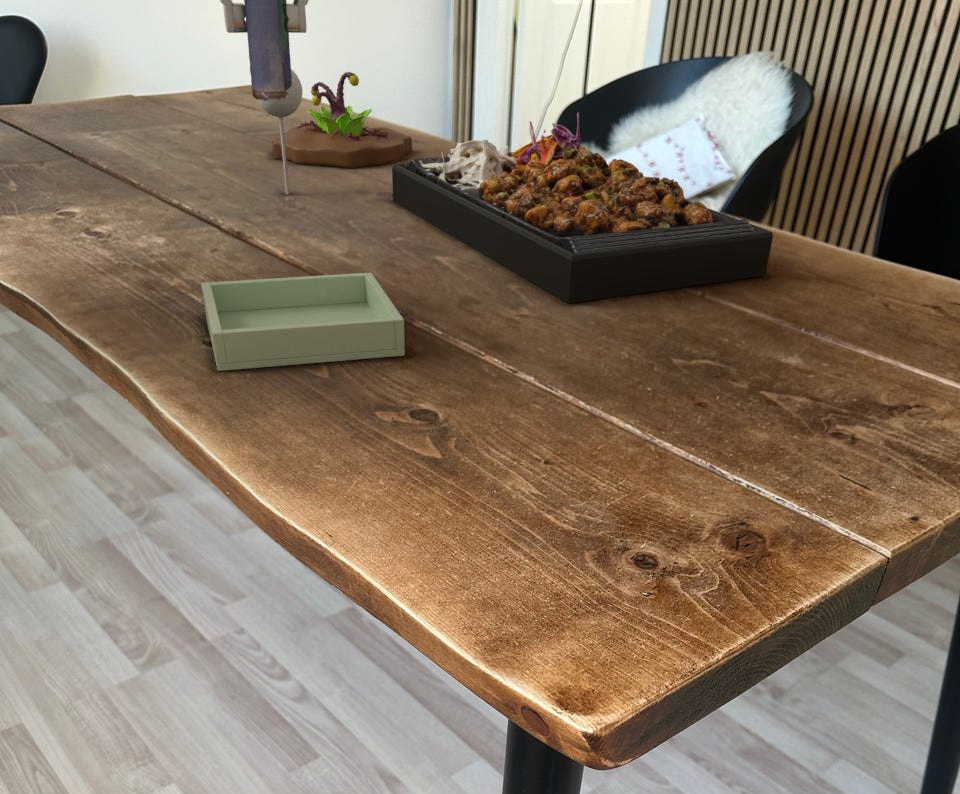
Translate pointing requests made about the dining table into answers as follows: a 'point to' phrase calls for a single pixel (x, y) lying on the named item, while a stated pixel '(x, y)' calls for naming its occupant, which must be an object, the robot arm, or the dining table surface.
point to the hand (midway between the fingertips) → (266, 32)
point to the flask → (268, 49)
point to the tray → (301, 321)
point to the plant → (340, 135)
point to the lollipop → (284, 113)
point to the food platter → (578, 219)
